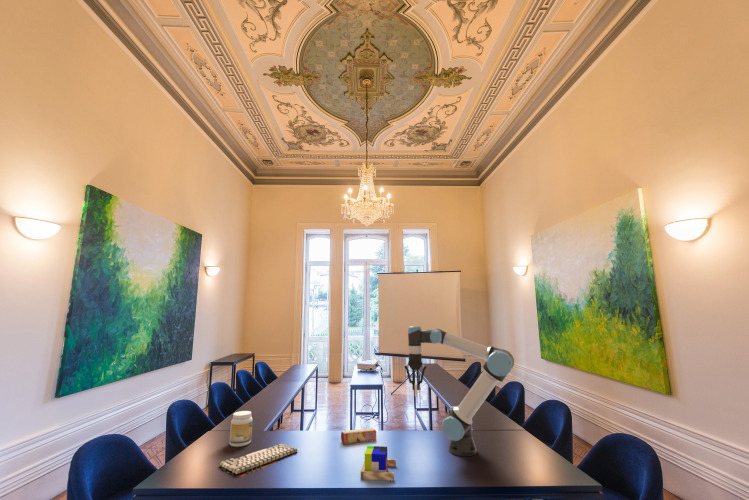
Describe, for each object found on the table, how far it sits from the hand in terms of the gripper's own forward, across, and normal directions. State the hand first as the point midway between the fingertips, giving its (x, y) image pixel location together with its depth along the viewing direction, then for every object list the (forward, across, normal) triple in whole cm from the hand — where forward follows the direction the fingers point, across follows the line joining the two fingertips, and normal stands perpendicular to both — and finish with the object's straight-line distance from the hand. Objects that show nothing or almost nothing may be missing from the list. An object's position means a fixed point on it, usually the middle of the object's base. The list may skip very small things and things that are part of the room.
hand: (416, 396), depth 191 cm
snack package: (+30, +35, -14) cm, 48 cm away
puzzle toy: (+30, +20, +27) cm, 45 cm away
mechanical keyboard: (+30, +82, +19) cm, 90 cm away
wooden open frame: (+29, +18, +26) cm, 43 cm away
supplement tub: (+30, +105, -2) cm, 109 cm away
